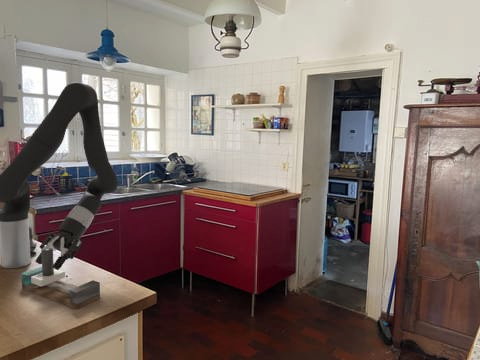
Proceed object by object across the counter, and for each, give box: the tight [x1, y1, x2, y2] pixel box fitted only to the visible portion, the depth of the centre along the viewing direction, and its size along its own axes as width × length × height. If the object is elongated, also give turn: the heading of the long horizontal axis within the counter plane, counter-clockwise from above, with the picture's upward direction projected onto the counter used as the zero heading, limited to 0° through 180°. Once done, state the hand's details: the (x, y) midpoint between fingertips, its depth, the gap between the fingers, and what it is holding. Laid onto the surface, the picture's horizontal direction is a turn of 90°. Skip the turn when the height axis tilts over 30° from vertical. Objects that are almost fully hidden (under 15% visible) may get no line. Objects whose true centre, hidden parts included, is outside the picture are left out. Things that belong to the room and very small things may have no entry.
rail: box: [20, 266, 101, 310], centre depth 112 cm, size 26×8×5 cm, turn 62°
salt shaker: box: [29, 226, 37, 257], centre depth 145 cm, size 6×6×12 cm
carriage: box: [31, 248, 66, 287], centre depth 113 cm, size 5×8×10 cm, turn 152°
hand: (46, 265), depth 113 cm, fingers open, 8 cm apart
